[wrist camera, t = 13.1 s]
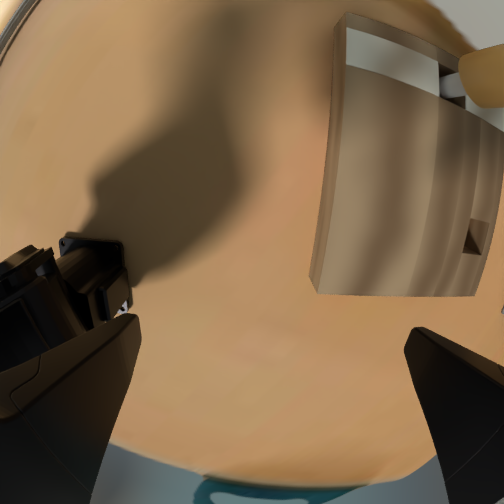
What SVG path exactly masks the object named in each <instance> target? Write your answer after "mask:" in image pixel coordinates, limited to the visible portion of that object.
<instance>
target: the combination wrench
mask: <svg viewBox="0 0 504 504" xmlns="http://www.w3.org/2000/svg"><path fill="white" fill-rule="evenodd" d="M35 1H36V0H24V1H23V2H22V3H21V5H20V6H19V7H18V9H17V10H16V12H15V13H14V15H13V16H12V18H11V19H10V21H9V22H8V24H7V25H6V27H5V28H4V30H3V32H2V33H1V35H0V54H1V52H2V50H3V49H4V47H5V45H6V44H7V42H8V40H9V39H10V37H11V35H12V34H13V32H14V31H15V29H16V28H17V26H18V25H19V23H20V22H21V20H22V19H23V17H24V16H25V14H26V13H27V12H28V10H29V9H30V8H31V6H32V5H33V4H34V2H35Z"/></svg>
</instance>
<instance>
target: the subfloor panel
mask: <svg viewBox="0 0 504 504" xmlns="http://www.w3.org/2000/svg"><path fill="white" fill-rule="evenodd" d="M458 63H459V59H458V58H457V57H455V56H453V55H451V54H450V53H448V52H446V51H444V50H442V49H440V48H438V47H436V46H434V45H432V44H430V43H428V42H426V41H424V40H422V39H420V38H418V37H415V36H413V35H411V34H409V33H406V32H404V31H401V30H399V29H397V28H394V27H391V26H389V25H386V24H383V23H381V22H378V21H375V20H372V19H369V18H366V17H362V16H359V15H356V14H352V13H349V12H346V13H345V14H344V15H343V17H342V18H341V19H340V21H339V22H338V23H337V25H336V26H335V27H334V54H333V76H332V93H331V107H330V120H329V131H328V142H327V151H326V161H325V169H324V178H323V186H322V194H321V201H320V209H319V216H318V222H317V229H316V236H315V242H314V248H313V254H312V260H311V266H310V272H309V278H310V280H311V282H312V284H313V286H314V288H315V290H316V292H317V294H331V295H358V296H403V297H458V296H475V293H476V291H477V288H478V285H479V282H480V279H481V276H482V273H483V270H484V266H485V263H486V260H487V256H488V253H489V249H490V245H491V241H492V237H493V233H494V228H495V224H496V219H497V214H498V208H499V202H500V196H501V189H502V181H503V172H504V108H489V109H483V108H480V107H479V106H477V105H476V104H475V103H474V102H473V101H472V100H471V99H470V98H469V96H468V95H466V96H460V97H453V98H448V99H443V98H441V97H439V78H440V77H443V76H447V75H450V74H454V73H458V72H459V70H458Z"/></svg>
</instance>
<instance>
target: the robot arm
mask: <svg viewBox="0 0 504 504" xmlns="http://www.w3.org/2000/svg"><path fill="white" fill-rule="evenodd" d="M63 241H64V242H65V245H64V243H63ZM115 245H116V246H117V247H118V250H117V249H116V248H115ZM59 248H60V255H61V257H60V258H58V259H57V260H55V258H54V256H53V255H54V252H53V250H52V247H50V248H48V249H45V250H44V248H42V249H37V248H35V247H34V246H33V245H29V246H27V247H25V248H23V249H21V250H20V251H18V252H16V253H14V254H13V255H11V256H10V257H8V258H7V259H5V260H4V261H2V262H1V263H0V504H89V503H90V500H91V496H92V495H91V494H92V492H93V489H94V485H95V482H96V479H97V476H98V472H99V469H100V466H101V463H102V459H103V457H104V453H105V451H106V448H107V445H108V442H109V439H110V436H111V433H112V430H113V428H114V425H115V422H116V419H117V417H118V414H119V411H120V409H121V406H122V403H123V401H124V398H125V395H126V393H127V390H128V388H129V385H130V382H131V378H132V375H133V371H134V367H135V363H136V360H137V356H138V352H139V349H140V345H141V340H142V337H141V330H140V322H139V318H138V316H137V315H136V314H130V313H127V312H128V310H129V303H128V297H129V286H128V276H127V269H126V268H125V266H124V253H123V245H122V243H121V242H119V241H113V240H100V239H87V238H74V237H63V238H61V239H60V240H59ZM122 307H124V308H125V309H123V308H122ZM117 313H121V314H122V315H120V316H118V317H116V318H114V316H115V315H116V314H117ZM113 318H114V319H113ZM105 322H106V323H105ZM404 354H405V357H406V361H407V364H408V367H409V371H410V374H411V378H412V381H413V385H414V388H415V391H416V394H417V396H418V399H419V401H420V404H421V407H422V410H423V413H424V415H425V418H426V421H427V424H428V427H429V430H430V433H431V436H432V439H433V442H434V446H435V449H436V452H437V455H438V459H439V463H440V466H441V469H442V474H443V478H444V481H445V486H446V491H447V495H448V500H449V504H504V367H503V366H501V365H499V364H497V363H495V362H493V361H491V360H489V359H487V358H485V357H483V356H481V355H479V354H477V353H475V352H473V351H471V350H469V349H467V348H465V347H463V346H461V345H459V344H457V343H455V342H453V341H451V340H449V339H447V338H445V337H443V336H441V335H439V334H437V333H435V332H433V331H431V330H429V329H427V328H425V327H414V328H413V329H412V330H411V332H410V334H409V337H408V339H407V342H406V344H405V346H404Z"/></svg>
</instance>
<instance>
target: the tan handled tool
mask: <svg viewBox="0 0 504 504" xmlns="http://www.w3.org/2000/svg"><path fill="white" fill-rule="evenodd" d="M458 70H459V72H458V73H454V74H450V75H447V76H443V77H440V78H439V97H441V98H443V99H448V98H453V97H460V96H466V95H468V96H469V98H470V99H471V100H472V101H473V102H474V103H475V104H476V105H477V106H479V107H480V108H483V109H489V108H504V44H500V45H496V46H493V47H489V48H485V49H481V50H478V51H474V52H471V53H468V54H465V55H462V56H461V58H460V59H459V63H458Z"/></svg>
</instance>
